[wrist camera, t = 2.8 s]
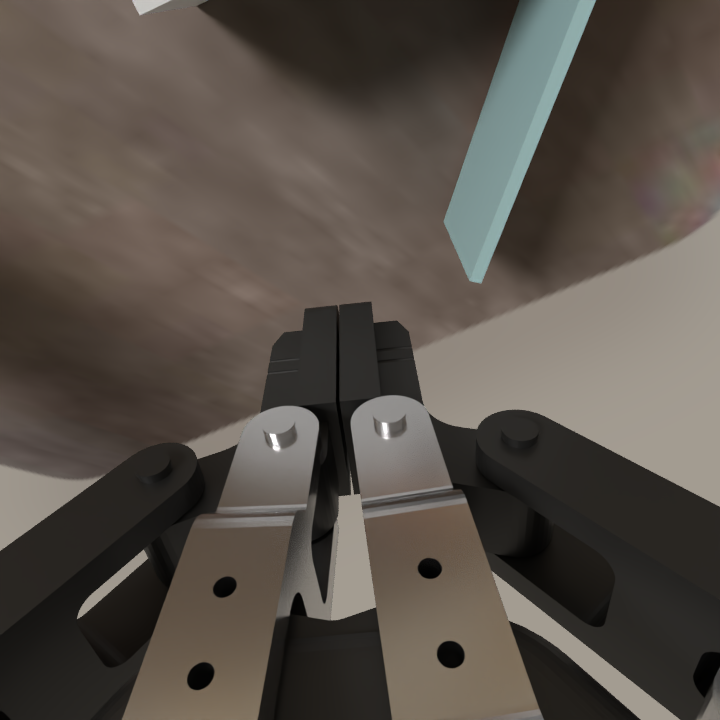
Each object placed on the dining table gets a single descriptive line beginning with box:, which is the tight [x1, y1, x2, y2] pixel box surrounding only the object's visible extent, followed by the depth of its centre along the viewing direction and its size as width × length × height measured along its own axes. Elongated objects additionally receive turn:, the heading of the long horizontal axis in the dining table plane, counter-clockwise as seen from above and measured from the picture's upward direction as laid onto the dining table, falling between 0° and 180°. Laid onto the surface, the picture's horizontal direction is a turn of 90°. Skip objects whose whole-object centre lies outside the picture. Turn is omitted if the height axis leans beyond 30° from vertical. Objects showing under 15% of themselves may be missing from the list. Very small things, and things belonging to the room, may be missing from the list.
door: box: [444, 0, 596, 283], centre depth 22 cm, size 15×1×7 cm, turn 166°
